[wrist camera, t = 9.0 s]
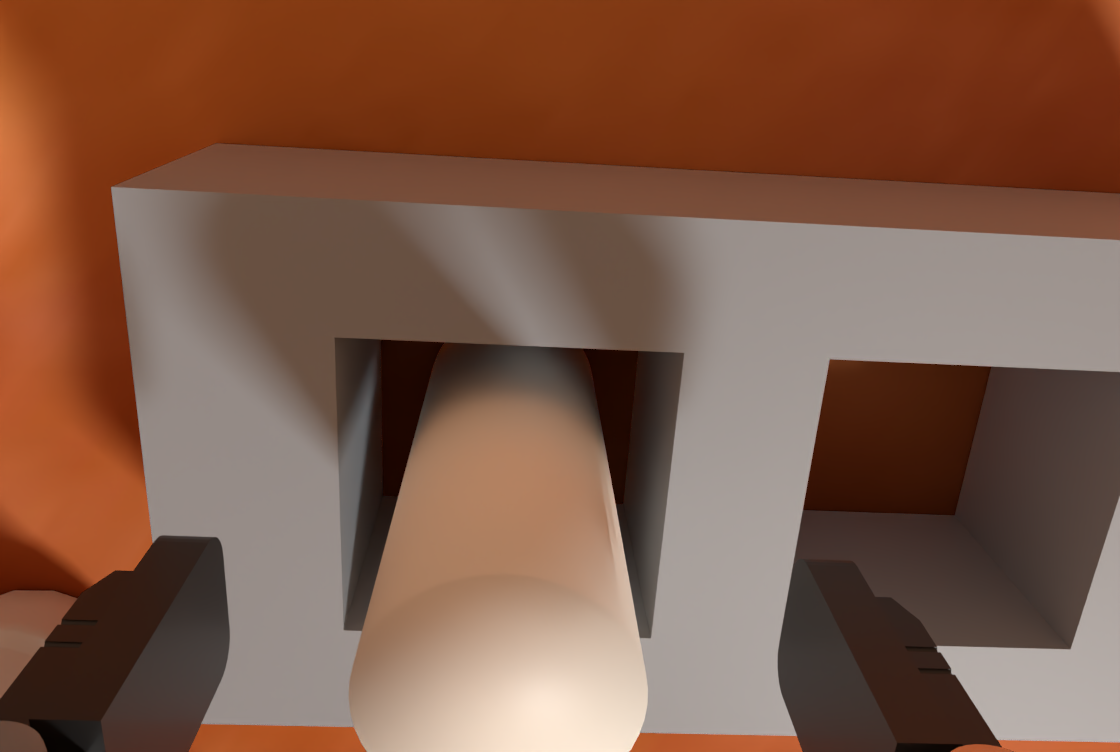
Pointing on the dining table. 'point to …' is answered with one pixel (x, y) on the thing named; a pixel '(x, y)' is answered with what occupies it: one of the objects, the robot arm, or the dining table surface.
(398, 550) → the dowel
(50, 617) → the bottle
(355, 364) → the socket block
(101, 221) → the dining table surface
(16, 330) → the dining table surface
